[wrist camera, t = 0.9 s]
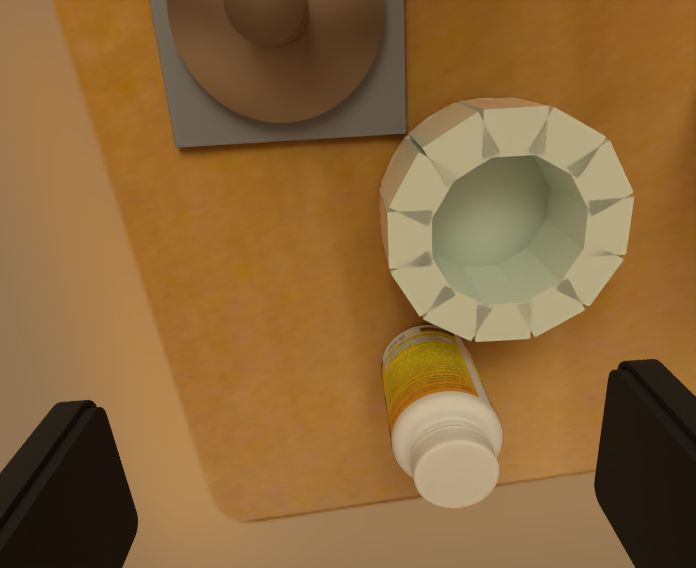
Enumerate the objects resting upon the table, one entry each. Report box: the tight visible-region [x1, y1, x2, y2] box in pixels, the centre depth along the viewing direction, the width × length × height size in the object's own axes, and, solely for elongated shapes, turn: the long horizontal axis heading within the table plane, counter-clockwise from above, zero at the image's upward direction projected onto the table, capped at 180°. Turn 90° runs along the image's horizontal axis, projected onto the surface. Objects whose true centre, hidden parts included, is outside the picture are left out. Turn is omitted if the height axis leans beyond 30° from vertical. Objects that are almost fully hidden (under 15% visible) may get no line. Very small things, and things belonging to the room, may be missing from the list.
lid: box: [166, 0, 385, 123], centre depth 23 cm, size 10×10×6 cm
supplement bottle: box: [381, 325, 503, 508], centre depth 30 cm, size 6×6×10 cm
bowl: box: [379, 97, 634, 342], centre depth 28 cm, size 11×11×6 cm
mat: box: [150, 0, 406, 148], centre depth 26 cm, size 12×12×1 cm
